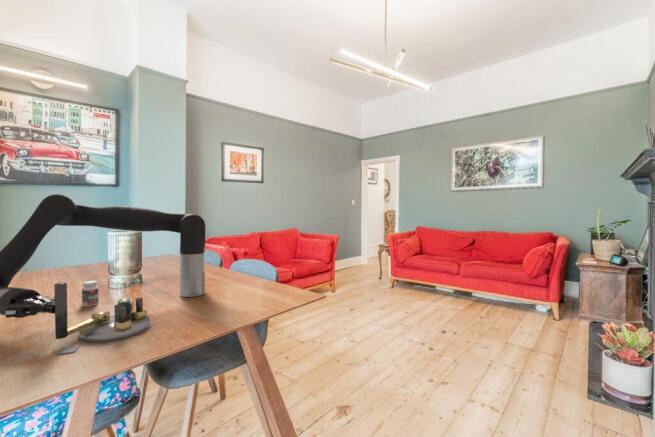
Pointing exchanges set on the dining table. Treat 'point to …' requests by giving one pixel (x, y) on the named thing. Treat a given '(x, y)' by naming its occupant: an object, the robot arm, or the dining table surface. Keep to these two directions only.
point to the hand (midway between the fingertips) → (59, 308)
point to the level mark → (67, 350)
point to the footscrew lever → (61, 314)
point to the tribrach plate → (108, 332)
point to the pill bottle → (90, 294)
